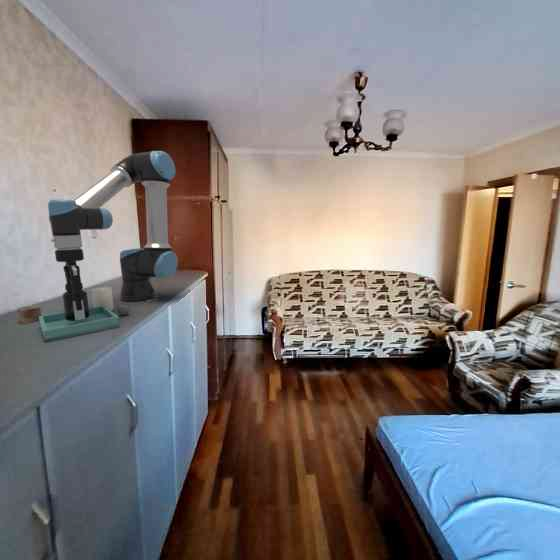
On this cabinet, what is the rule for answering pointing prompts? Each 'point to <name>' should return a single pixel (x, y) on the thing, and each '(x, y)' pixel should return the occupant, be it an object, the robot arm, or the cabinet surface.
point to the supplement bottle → (69, 304)
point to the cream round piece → (103, 297)
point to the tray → (77, 324)
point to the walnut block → (29, 314)
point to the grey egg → (123, 309)
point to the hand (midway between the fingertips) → (78, 316)
